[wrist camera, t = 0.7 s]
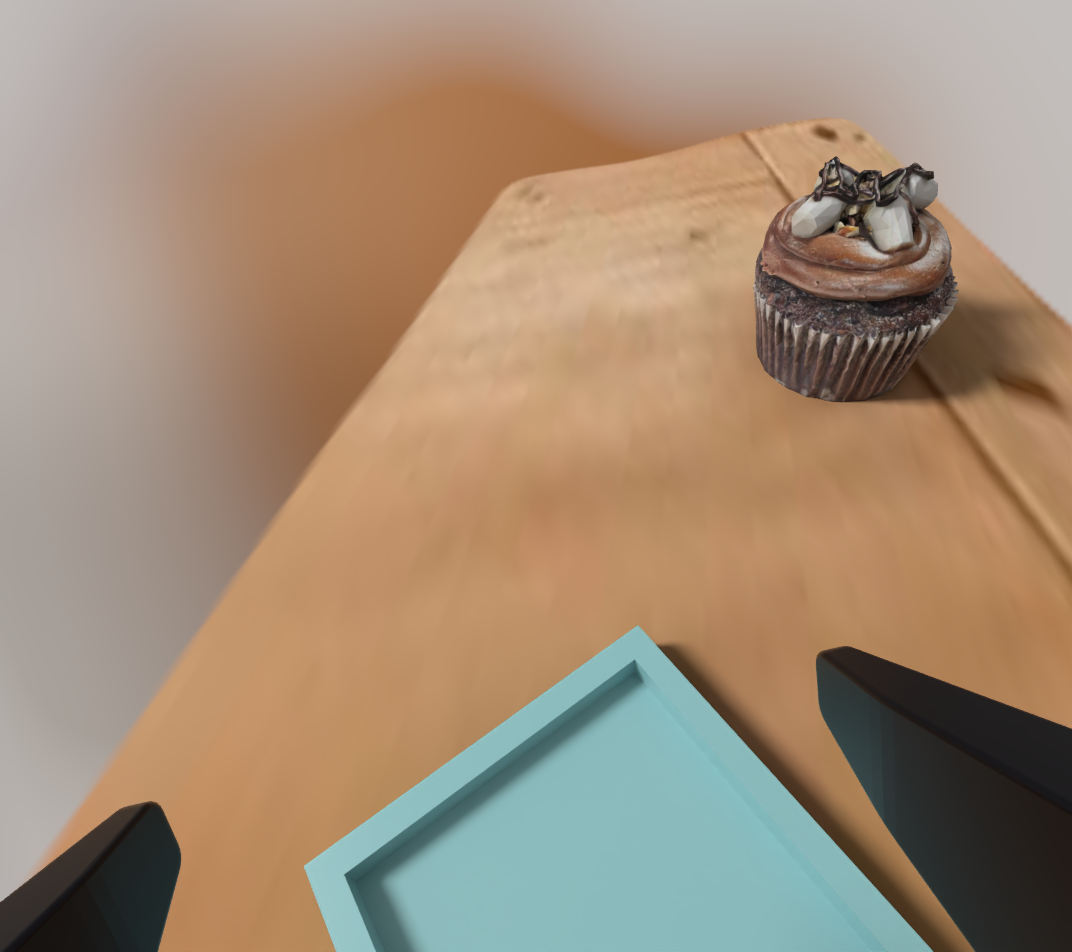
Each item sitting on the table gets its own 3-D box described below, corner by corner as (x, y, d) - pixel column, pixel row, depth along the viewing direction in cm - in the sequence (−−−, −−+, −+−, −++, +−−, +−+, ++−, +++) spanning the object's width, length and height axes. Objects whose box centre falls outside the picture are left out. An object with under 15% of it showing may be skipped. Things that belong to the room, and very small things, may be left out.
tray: (958, 1010, 18) (985, 1009, 17) (561, 1480, 14) (554, 1527, 13) (637, 645, 27) (637, 625, 25) (323, 875, 22) (303, 866, 21)
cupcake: (732, 401, 35) (761, 228, 27) (750, 297, 41) (778, 130, 33) (929, 426, 32) (1021, 243, 25) (918, 310, 38) (990, 133, 31)
